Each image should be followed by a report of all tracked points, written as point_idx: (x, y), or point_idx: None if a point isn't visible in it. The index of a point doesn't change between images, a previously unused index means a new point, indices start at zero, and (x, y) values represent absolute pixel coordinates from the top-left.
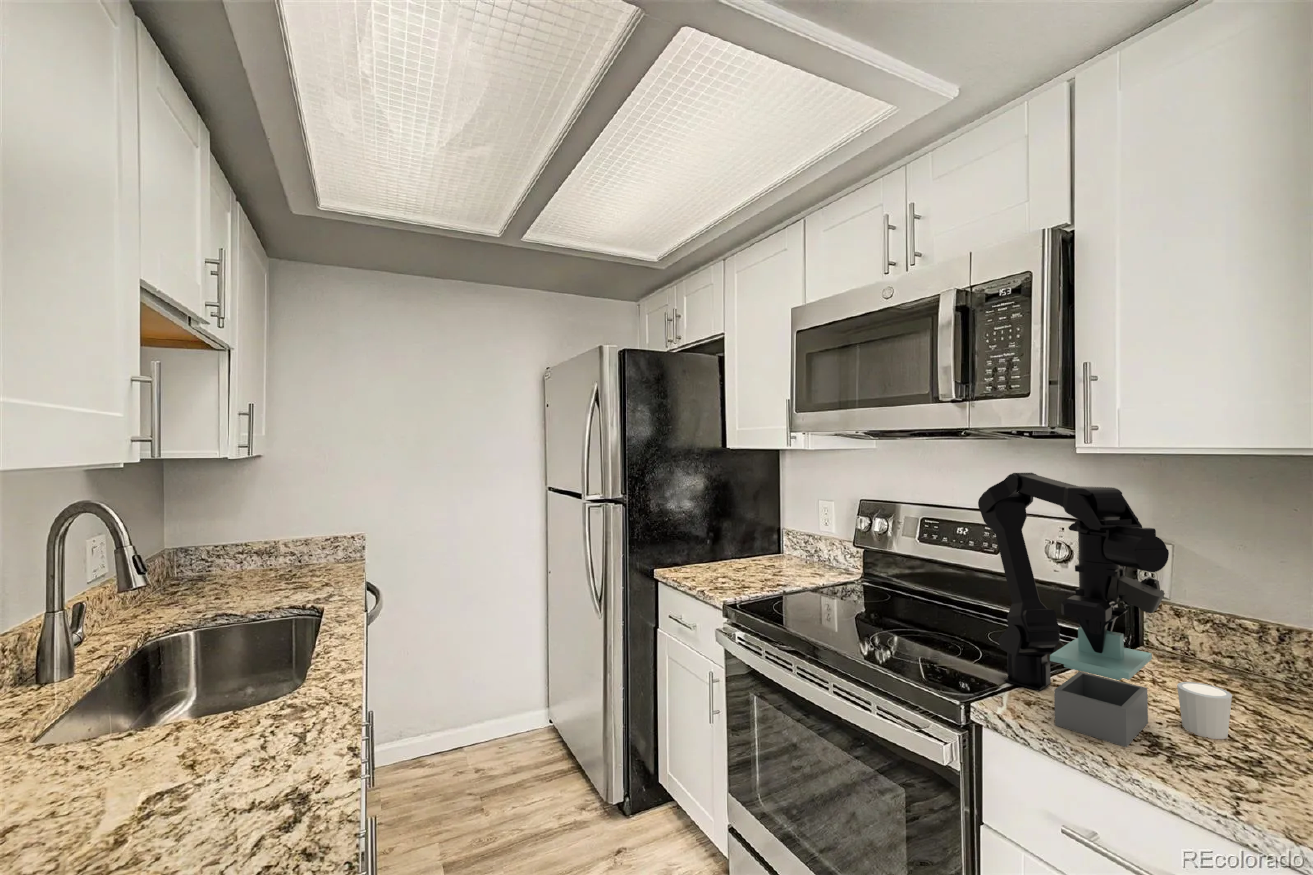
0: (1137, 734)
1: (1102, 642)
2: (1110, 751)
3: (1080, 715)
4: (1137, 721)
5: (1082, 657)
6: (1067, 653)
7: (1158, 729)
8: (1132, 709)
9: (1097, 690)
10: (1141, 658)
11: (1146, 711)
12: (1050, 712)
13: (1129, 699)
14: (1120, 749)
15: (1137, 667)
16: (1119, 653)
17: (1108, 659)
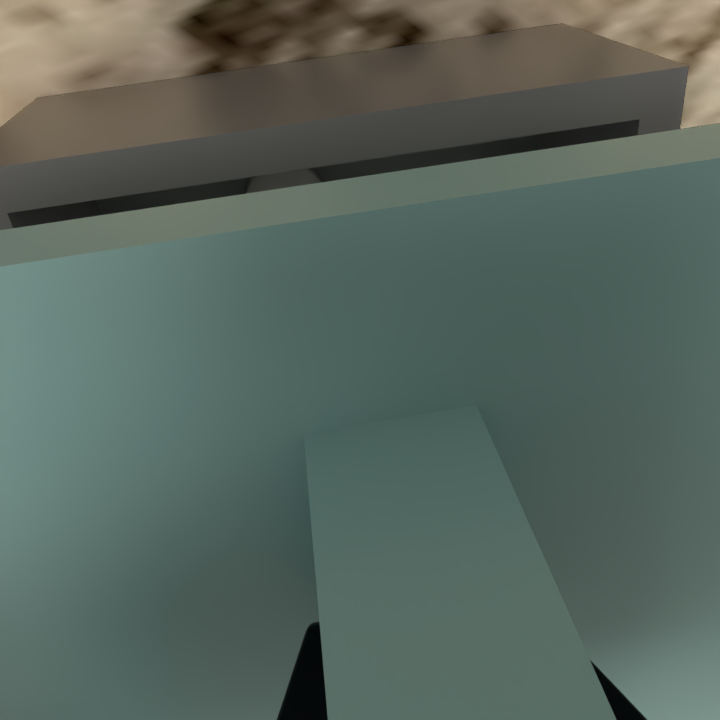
0: (311, 59)
1: (642, 717)
2: (683, 59)
3: None
4: (311, 76)
5: (689, 604)
6: (649, 693)
7: (78, 9)
8: (474, 82)
9: None
10: (100, 298)
11: (48, 114)
12: None
13: (415, 145)
14: (615, 35)
15: (563, 171)
16: (501, 478)
17: (557, 479)
